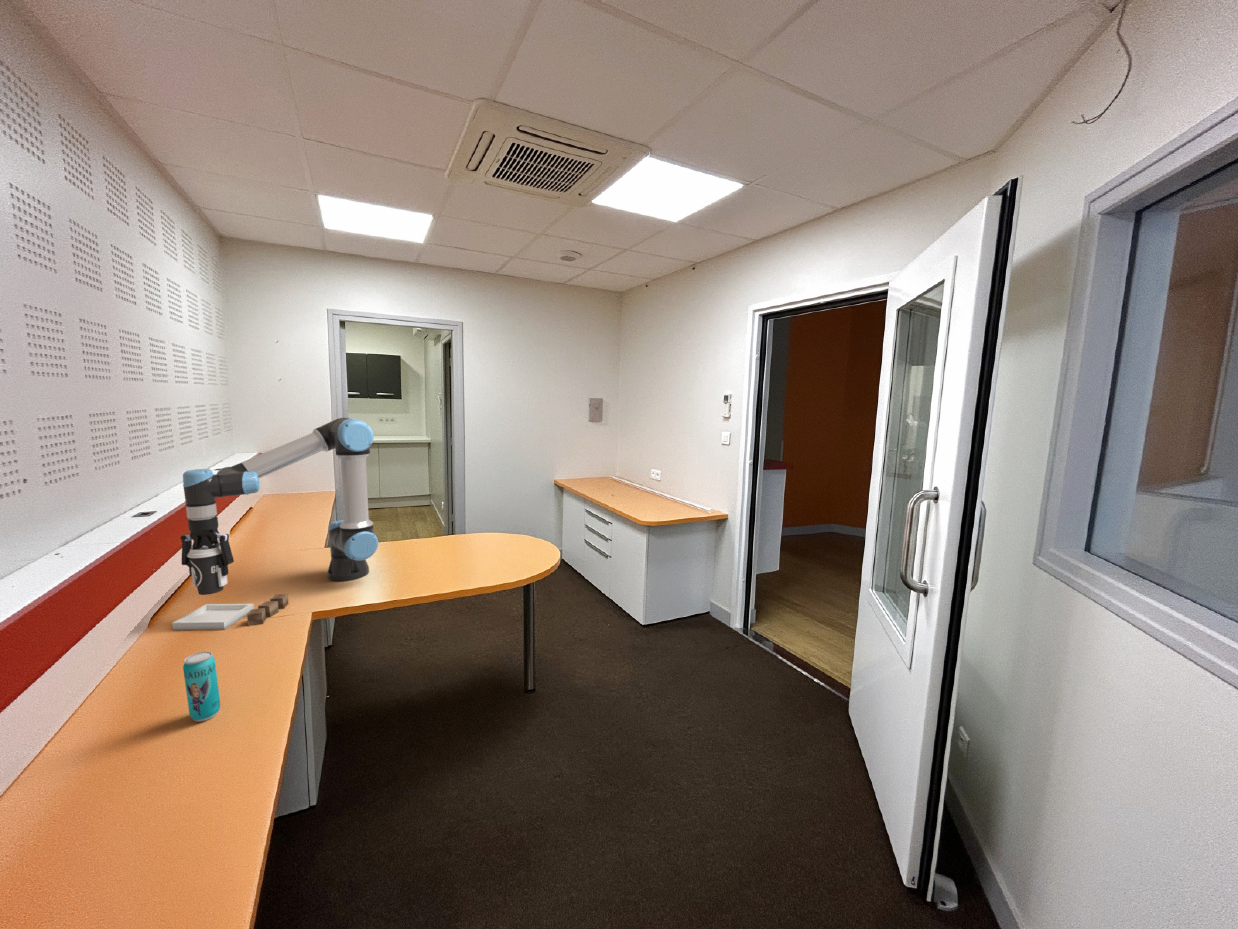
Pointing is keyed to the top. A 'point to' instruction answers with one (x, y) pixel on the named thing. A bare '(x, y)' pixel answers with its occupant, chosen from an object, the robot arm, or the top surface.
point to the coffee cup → (205, 569)
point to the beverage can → (201, 686)
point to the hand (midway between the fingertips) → (210, 585)
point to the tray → (213, 617)
